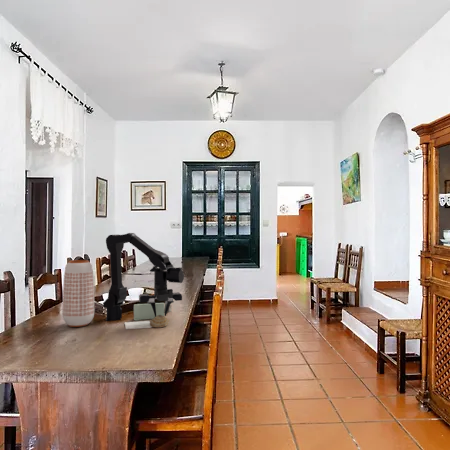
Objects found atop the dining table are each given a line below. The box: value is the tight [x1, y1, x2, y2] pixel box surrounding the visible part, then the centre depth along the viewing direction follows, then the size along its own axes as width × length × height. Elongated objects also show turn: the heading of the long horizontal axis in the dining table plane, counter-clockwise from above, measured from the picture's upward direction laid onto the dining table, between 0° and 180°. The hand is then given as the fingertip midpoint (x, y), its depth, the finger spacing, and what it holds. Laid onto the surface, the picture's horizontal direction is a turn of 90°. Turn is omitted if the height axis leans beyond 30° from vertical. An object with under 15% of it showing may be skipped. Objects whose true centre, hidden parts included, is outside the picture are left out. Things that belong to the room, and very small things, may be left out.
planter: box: [61, 259, 95, 328], centre depth 172 cm, size 13×13×28 cm
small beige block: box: [164, 303, 172, 314], centre depth 197 cm, size 4×5×4 cm
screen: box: [133, 302, 165, 322], centre depth 182 cm, size 14×4×7 cm, turn 107°
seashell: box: [150, 315, 170, 328], centre depth 171 cm, size 8×6×8 cm
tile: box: [124, 320, 153, 330], centre depth 170 cm, size 11×11×1 cm
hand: (160, 316), depth 174 cm, fingers open, 4 cm apart
